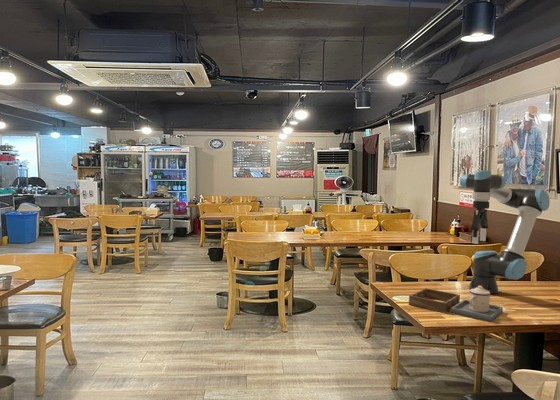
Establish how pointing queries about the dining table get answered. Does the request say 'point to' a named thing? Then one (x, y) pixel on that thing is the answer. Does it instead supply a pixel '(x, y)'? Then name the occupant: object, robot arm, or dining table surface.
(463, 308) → the charcoal tray
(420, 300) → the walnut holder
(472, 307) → the teacup with lid
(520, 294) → the dining table surface
